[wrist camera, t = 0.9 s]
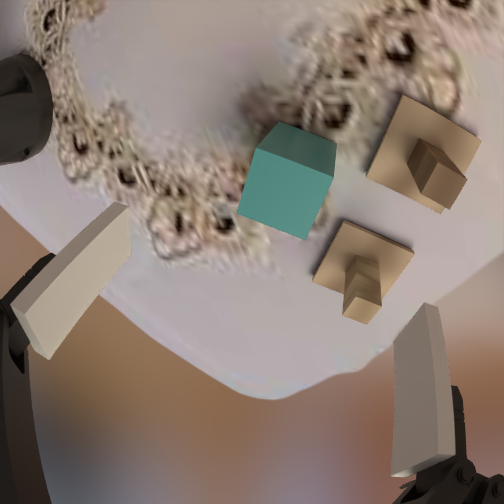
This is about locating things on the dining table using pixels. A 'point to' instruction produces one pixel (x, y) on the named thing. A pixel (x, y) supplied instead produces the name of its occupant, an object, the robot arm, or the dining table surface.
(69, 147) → the dining table surface
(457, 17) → the dining table surface
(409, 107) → the post
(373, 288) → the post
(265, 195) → the teal rectangular block
